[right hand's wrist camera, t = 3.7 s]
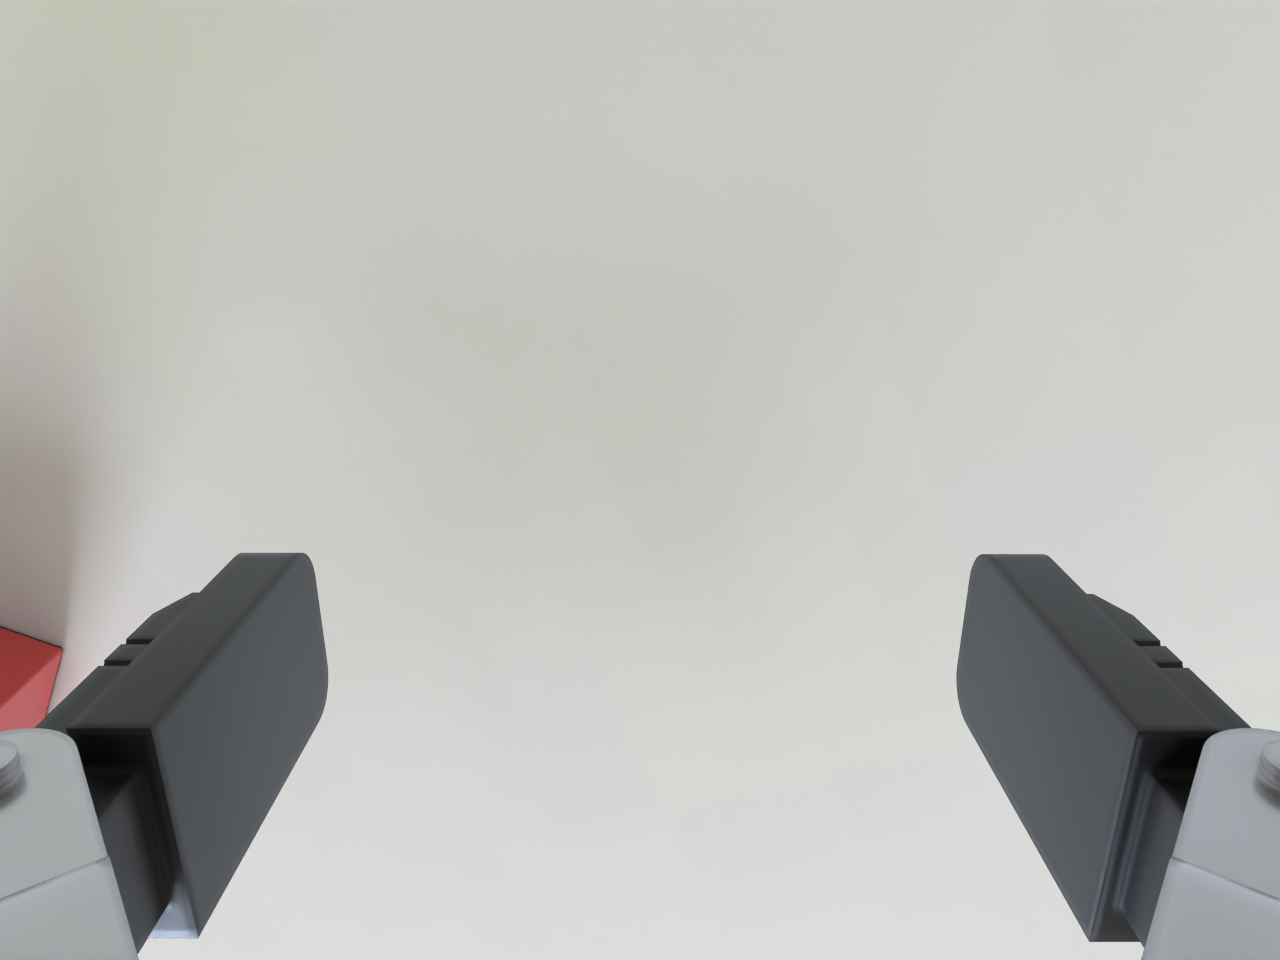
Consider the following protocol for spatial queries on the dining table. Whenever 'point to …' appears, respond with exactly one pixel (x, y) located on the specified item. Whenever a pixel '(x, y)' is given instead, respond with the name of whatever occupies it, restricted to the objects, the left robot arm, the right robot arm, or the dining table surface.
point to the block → (25, 679)
